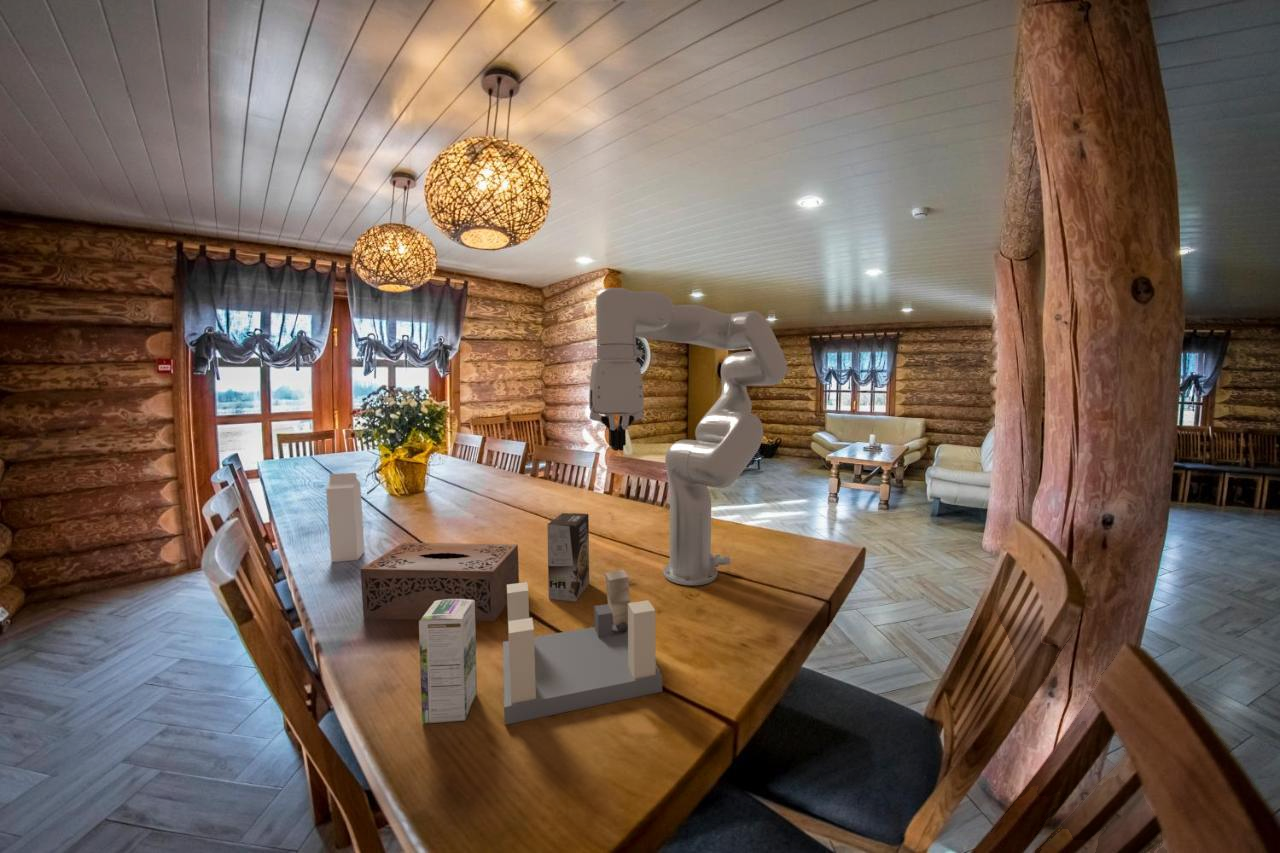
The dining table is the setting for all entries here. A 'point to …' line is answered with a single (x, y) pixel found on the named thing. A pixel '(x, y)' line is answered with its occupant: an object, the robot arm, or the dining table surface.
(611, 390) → the robot arm
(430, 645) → the syrup box
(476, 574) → the tissue box cover
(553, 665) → the footstool
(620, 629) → the folding leg
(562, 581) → the coffee box
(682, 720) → the dining table surface
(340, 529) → the milk
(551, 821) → the dining table surface
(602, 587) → the dining table surface
